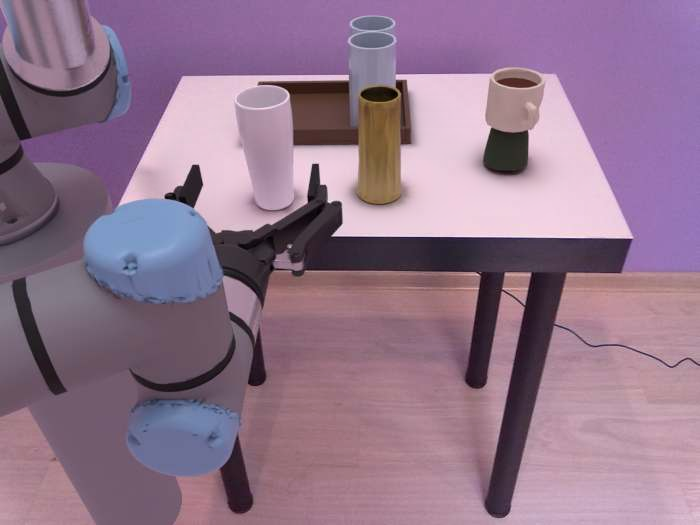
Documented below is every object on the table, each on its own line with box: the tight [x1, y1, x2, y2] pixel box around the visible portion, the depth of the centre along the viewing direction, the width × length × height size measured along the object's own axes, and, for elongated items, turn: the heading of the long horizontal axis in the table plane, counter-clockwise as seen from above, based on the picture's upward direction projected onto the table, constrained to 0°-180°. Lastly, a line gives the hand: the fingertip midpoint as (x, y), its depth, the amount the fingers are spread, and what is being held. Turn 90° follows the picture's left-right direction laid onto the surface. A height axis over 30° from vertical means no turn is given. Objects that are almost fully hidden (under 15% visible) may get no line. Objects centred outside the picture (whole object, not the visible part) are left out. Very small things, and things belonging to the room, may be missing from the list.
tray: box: [256, 79, 412, 146], centre depth 101 cm, size 26×18×3 cm
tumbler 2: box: [347, 31, 398, 127], centre depth 94 cm, size 7×7×14 cm
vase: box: [356, 85, 403, 205], centre depth 80 cm, size 6×6×14 cm
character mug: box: [482, 67, 546, 172], centre depth 85 cm, size 11×7×13 cm, turn 15°
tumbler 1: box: [349, 14, 396, 38], centre depth 100 cm, size 7×7×14 cm
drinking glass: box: [233, 85, 295, 211], centre depth 79 cm, size 7×7×15 cm
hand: (256, 174), depth 71 cm, fingers open, 13 cm apart
